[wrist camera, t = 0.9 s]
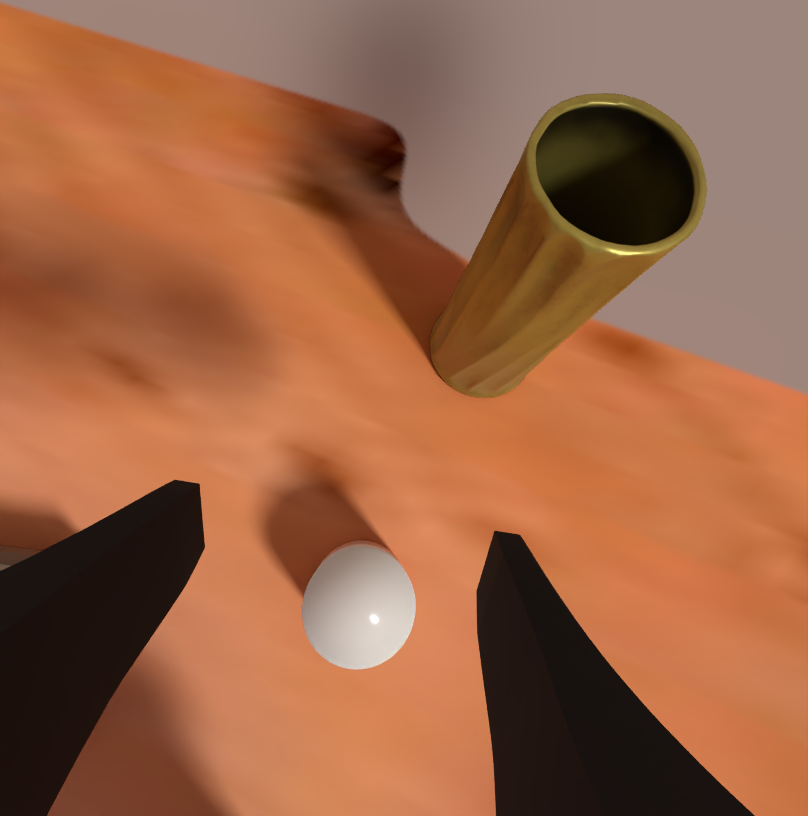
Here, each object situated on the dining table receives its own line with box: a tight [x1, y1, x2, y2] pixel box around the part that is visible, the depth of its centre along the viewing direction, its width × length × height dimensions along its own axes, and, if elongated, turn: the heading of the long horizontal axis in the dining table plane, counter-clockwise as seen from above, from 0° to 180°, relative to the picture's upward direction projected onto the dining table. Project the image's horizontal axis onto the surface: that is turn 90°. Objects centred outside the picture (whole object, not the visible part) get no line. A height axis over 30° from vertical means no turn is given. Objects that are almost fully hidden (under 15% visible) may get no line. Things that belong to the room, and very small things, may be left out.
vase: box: [430, 93, 707, 398], centre depth 19 cm, size 6×6×14 cm
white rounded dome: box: [302, 540, 416, 669], centre depth 20 cm, size 5×5×4 cm
